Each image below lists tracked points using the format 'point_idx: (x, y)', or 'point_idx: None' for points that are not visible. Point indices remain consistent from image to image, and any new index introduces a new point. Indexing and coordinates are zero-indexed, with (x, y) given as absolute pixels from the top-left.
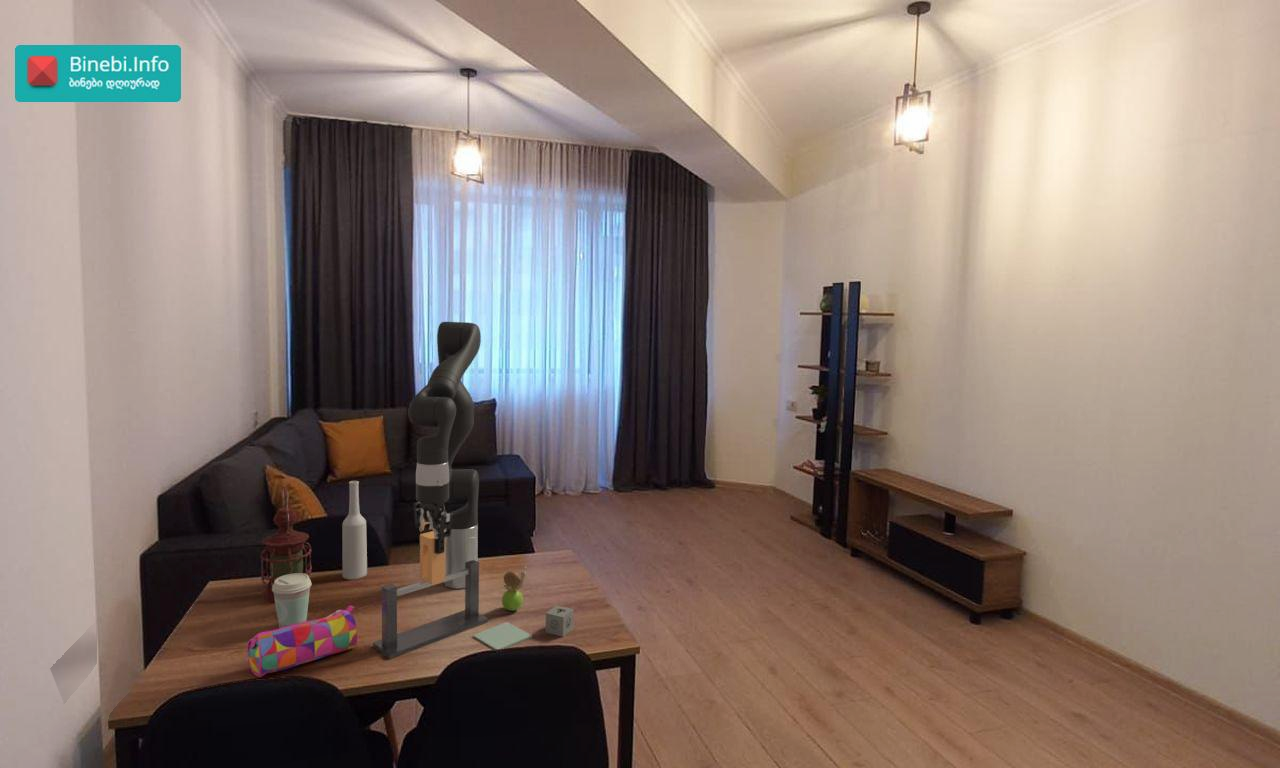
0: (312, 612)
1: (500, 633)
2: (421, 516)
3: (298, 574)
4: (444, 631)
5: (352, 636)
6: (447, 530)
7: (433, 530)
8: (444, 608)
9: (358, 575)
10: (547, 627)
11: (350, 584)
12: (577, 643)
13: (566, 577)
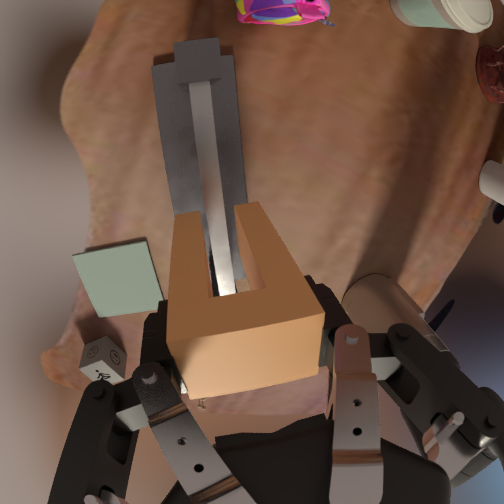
0: (434, 56)
1: (127, 283)
2: (362, 431)
3: (487, 22)
4: (183, 198)
5: (238, 7)
6: (120, 440)
7: (182, 402)
8: (299, 240)
9: (483, 176)
10: (103, 342)
11: (474, 155)
12: (61, 347)
13: (265, 405)
